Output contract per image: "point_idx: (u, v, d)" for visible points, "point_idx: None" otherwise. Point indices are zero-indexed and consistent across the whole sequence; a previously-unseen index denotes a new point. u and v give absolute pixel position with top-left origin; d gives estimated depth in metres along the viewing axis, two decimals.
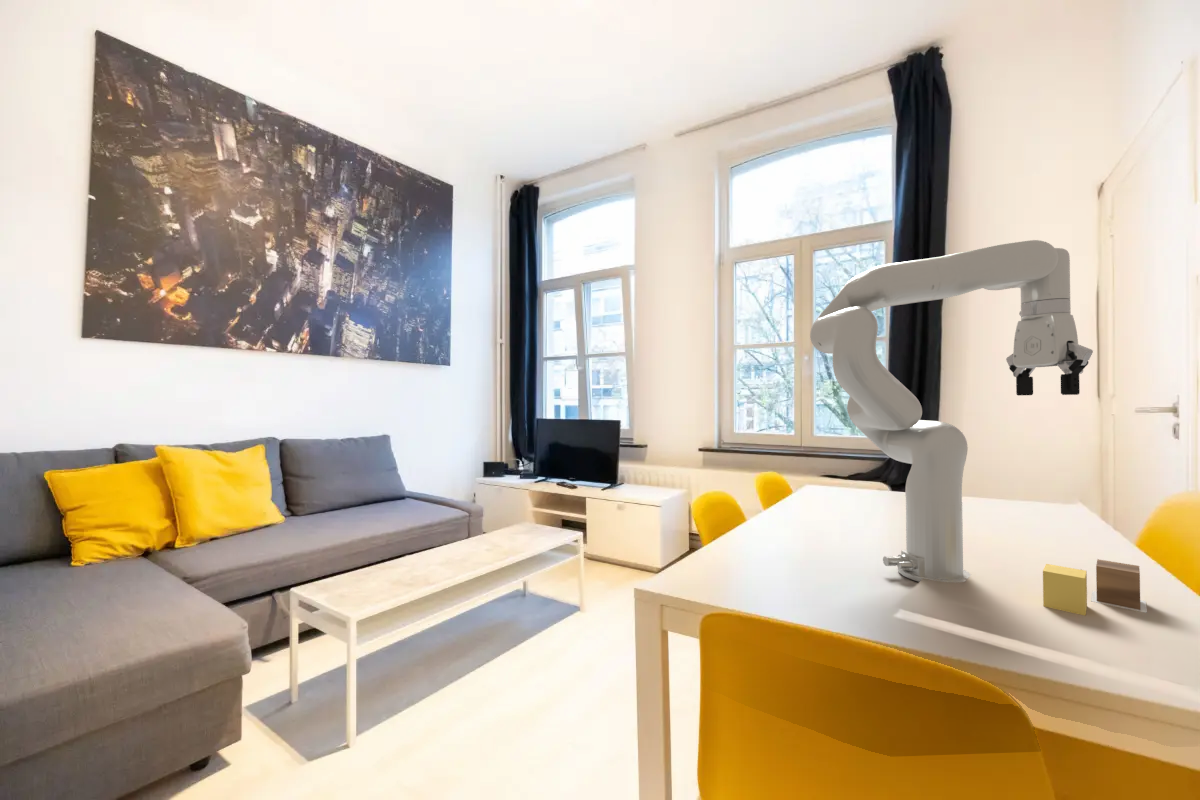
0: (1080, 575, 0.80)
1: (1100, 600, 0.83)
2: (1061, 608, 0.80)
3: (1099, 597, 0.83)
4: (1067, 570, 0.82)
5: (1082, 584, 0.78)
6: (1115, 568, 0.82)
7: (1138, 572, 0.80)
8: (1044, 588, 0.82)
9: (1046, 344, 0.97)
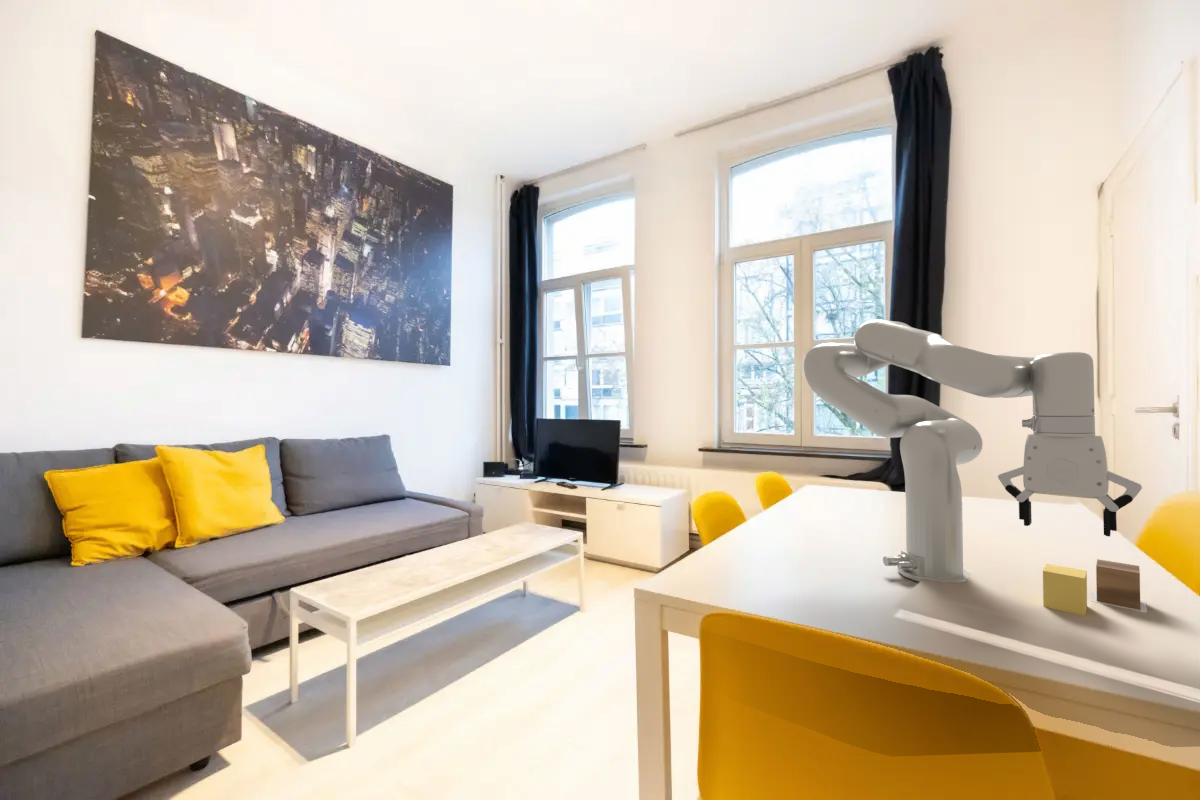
0: (1080, 575, 0.80)
1: (1100, 600, 0.83)
2: (1061, 608, 0.80)
3: (1099, 597, 0.83)
4: (1067, 570, 0.82)
5: (1082, 584, 0.78)
6: (1115, 568, 0.82)
7: (1138, 572, 0.80)
8: (1044, 588, 0.82)
9: (1088, 472, 0.78)
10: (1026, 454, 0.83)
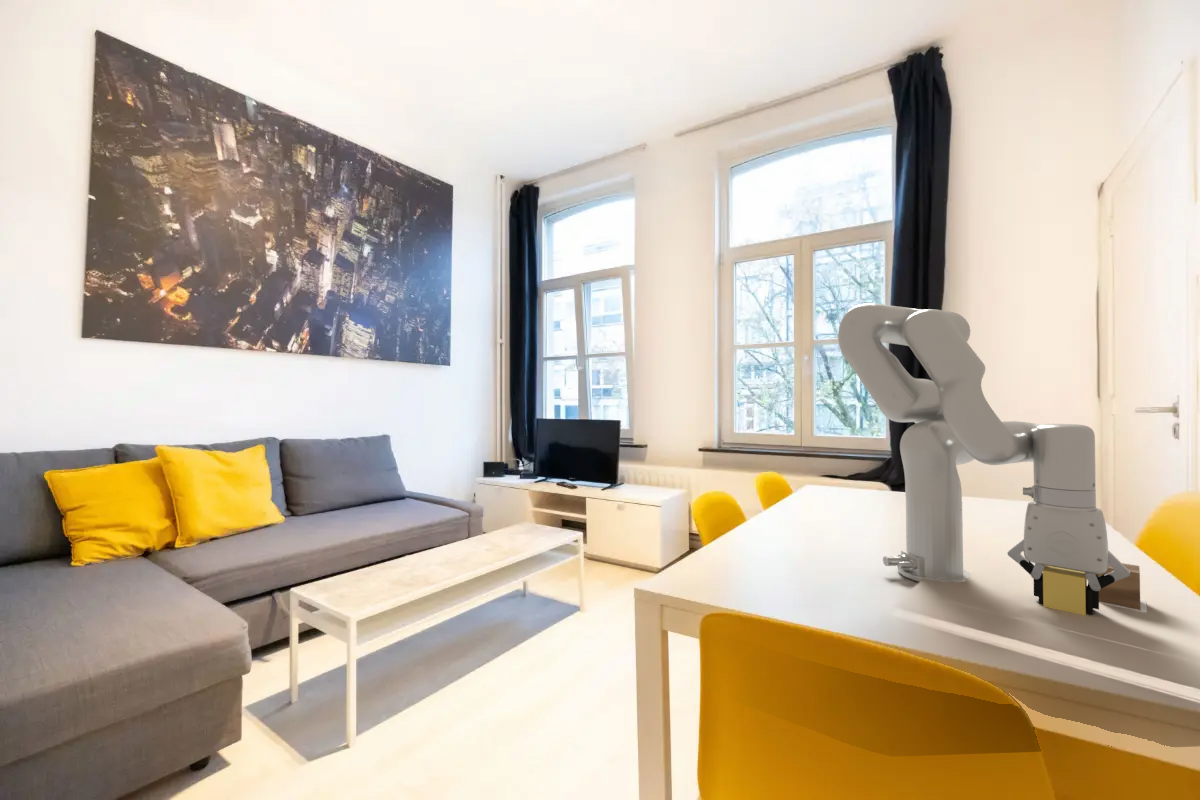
0: (1080, 575, 0.80)
1: (1100, 600, 0.83)
2: (1061, 608, 0.80)
3: (1099, 597, 0.83)
4: (1067, 570, 0.82)
5: (1082, 584, 0.78)
6: None
7: (1138, 572, 0.80)
8: (1044, 588, 0.82)
9: (1088, 547, 0.78)
10: (1026, 524, 0.83)
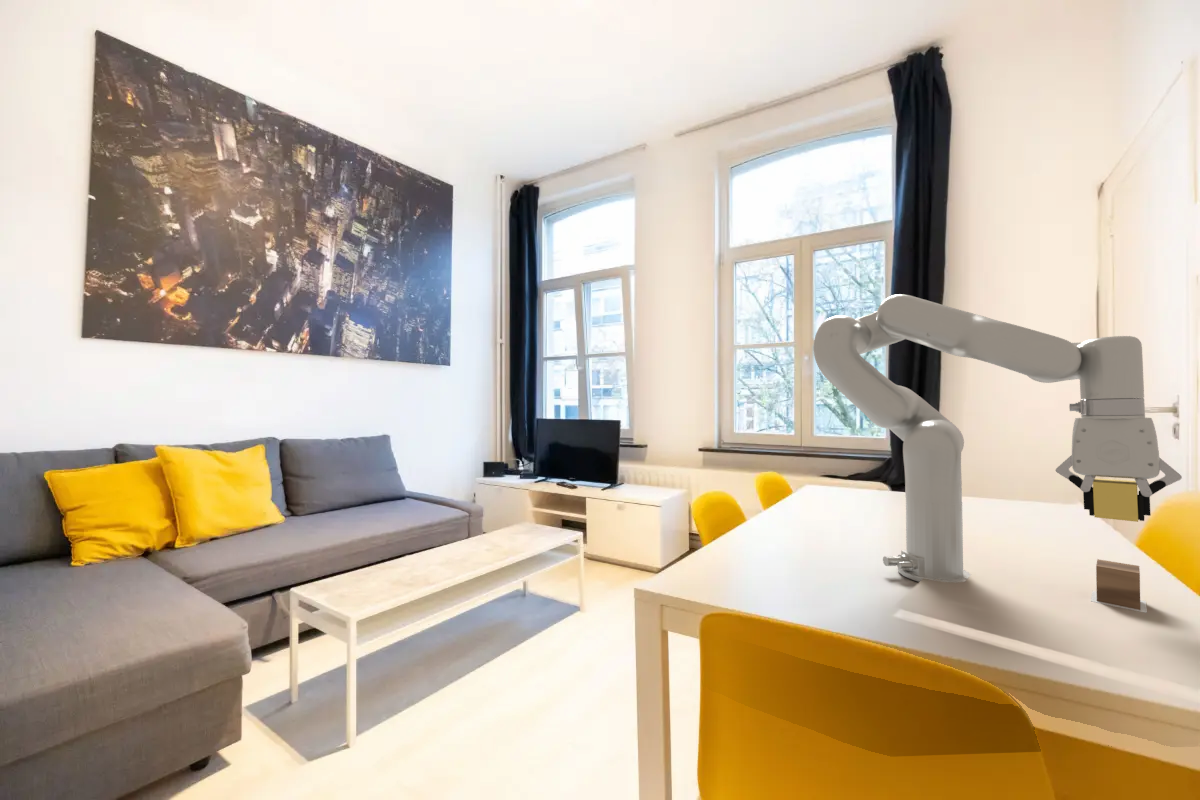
0: (1131, 483, 0.81)
1: (1100, 600, 0.83)
2: (1113, 517, 0.82)
3: (1099, 597, 0.83)
4: (1117, 481, 0.83)
5: (1134, 491, 0.80)
6: (1115, 568, 0.82)
7: (1138, 572, 0.80)
8: (1095, 499, 0.83)
9: (1139, 453, 0.79)
10: (1074, 437, 0.85)
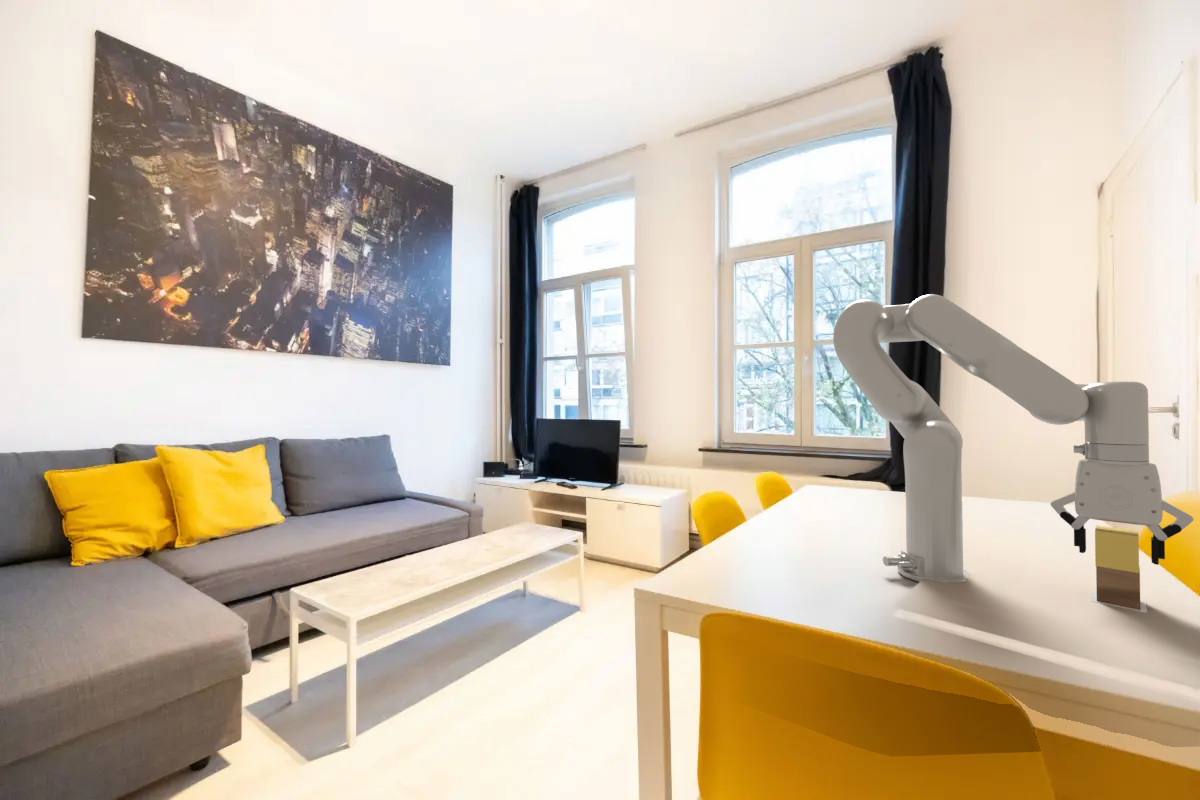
0: (1133, 534, 0.81)
1: (1100, 600, 0.83)
2: (1114, 566, 0.82)
3: (1099, 597, 0.83)
4: (1119, 530, 0.84)
5: (1135, 542, 0.80)
6: None
7: None
8: (1096, 548, 0.83)
9: (1142, 500, 0.79)
10: (1078, 480, 0.85)
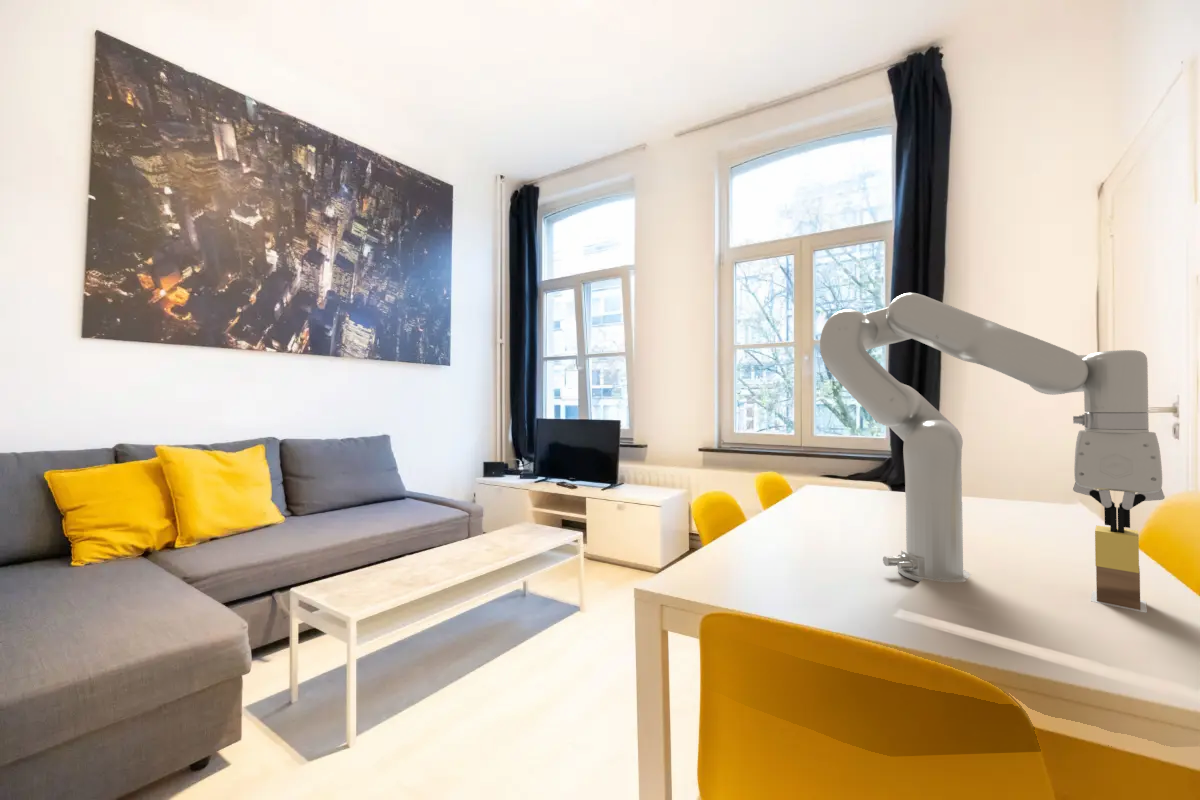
0: (1133, 534, 0.81)
1: (1100, 600, 0.83)
2: (1114, 566, 0.82)
3: (1099, 597, 0.83)
4: None
5: (1135, 542, 0.80)
6: None
7: None
8: (1096, 548, 0.83)
9: (1142, 467, 0.79)
10: (1078, 450, 0.85)
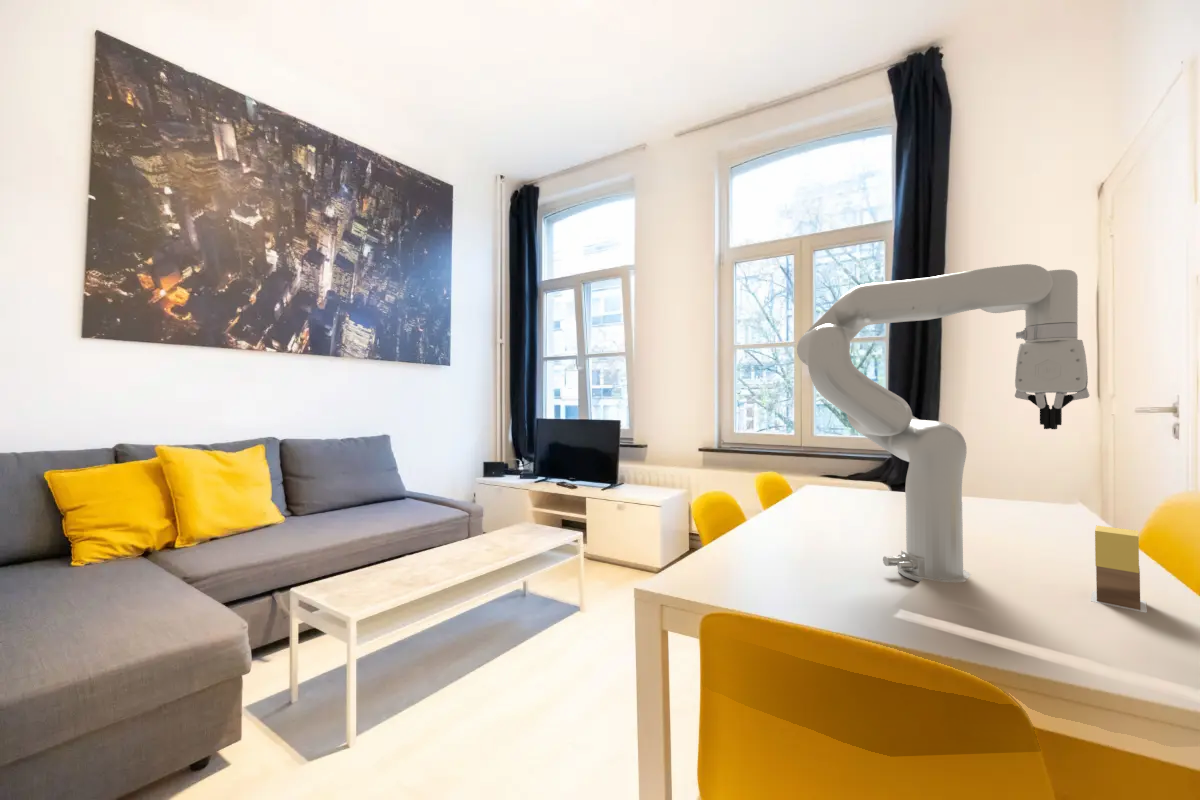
0: (1133, 534, 0.81)
1: (1100, 600, 0.83)
2: (1114, 566, 0.82)
3: (1099, 597, 0.83)
4: (1119, 530, 0.84)
5: (1135, 542, 0.80)
6: None
7: None
8: (1096, 548, 0.83)
9: (1069, 370, 0.92)
10: (1018, 360, 0.98)
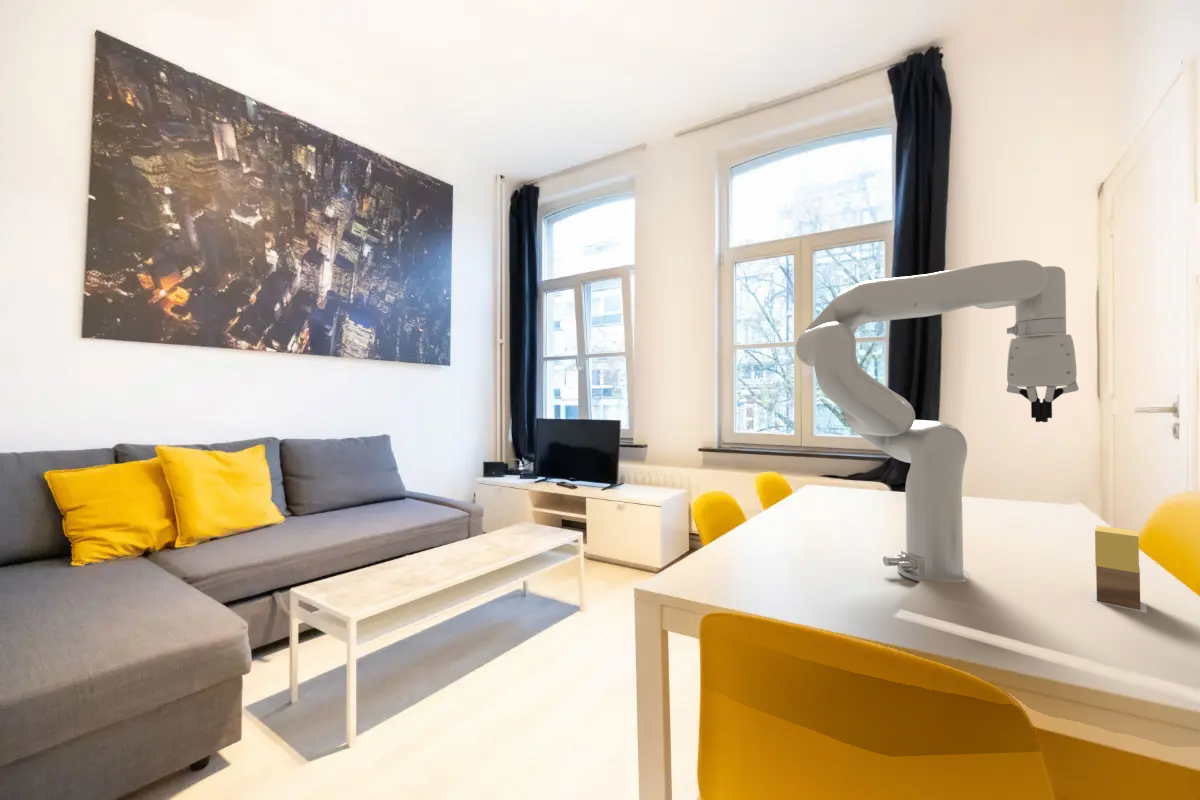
0: (1133, 534, 0.81)
1: (1100, 600, 0.83)
2: (1114, 566, 0.82)
3: (1099, 597, 0.83)
4: (1119, 530, 0.84)
5: (1135, 542, 0.80)
6: None
7: None
8: (1096, 548, 0.83)
9: (1059, 364, 0.94)
10: (1009, 355, 1.00)
